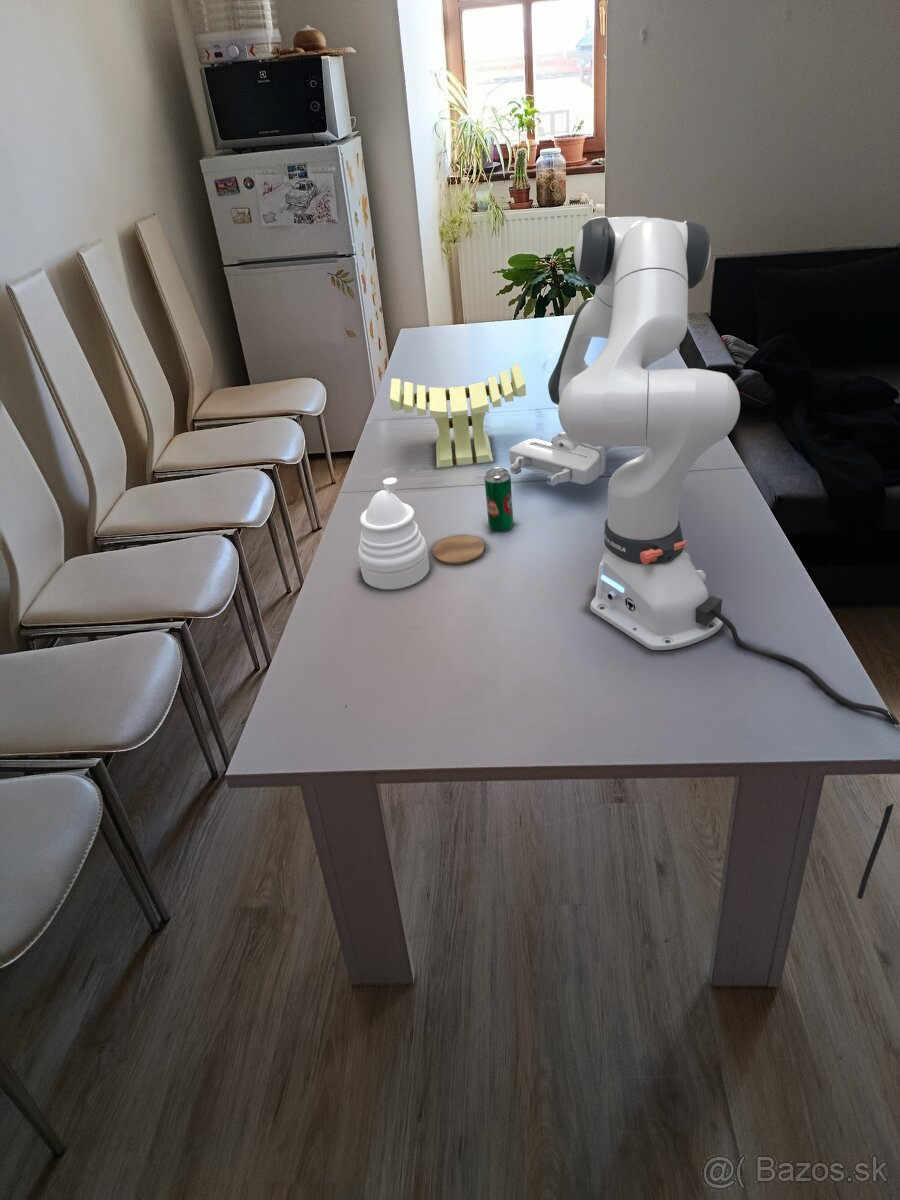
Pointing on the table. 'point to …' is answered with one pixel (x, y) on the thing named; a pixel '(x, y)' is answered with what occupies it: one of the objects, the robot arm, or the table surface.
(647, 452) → the robot arm
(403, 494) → the table surface
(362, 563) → the honey pot
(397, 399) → the slatted curved stool
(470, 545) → the cork coaster
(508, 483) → the soda can
